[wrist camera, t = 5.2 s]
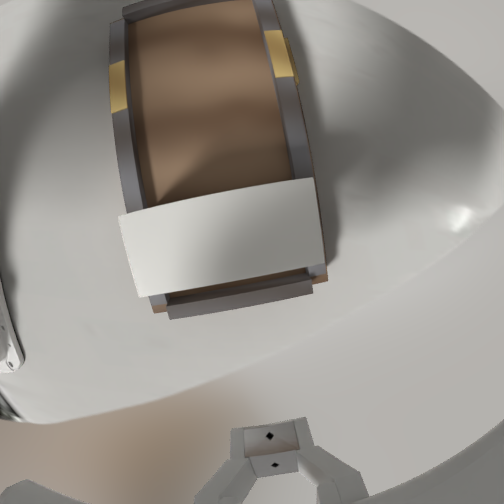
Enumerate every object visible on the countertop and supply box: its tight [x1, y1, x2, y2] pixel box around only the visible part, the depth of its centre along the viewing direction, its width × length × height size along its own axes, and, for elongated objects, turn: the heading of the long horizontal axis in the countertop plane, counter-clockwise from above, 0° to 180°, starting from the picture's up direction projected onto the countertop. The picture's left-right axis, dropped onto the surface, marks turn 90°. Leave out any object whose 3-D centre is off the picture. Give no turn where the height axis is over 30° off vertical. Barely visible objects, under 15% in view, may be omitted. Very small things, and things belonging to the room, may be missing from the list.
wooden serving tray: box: [109, 0, 328, 320], centre depth 17 cm, size 24×13×4 cm, turn 10°
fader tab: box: [118, 177, 325, 297], centre depth 15 cm, size 4×9×6 cm, turn 100°
